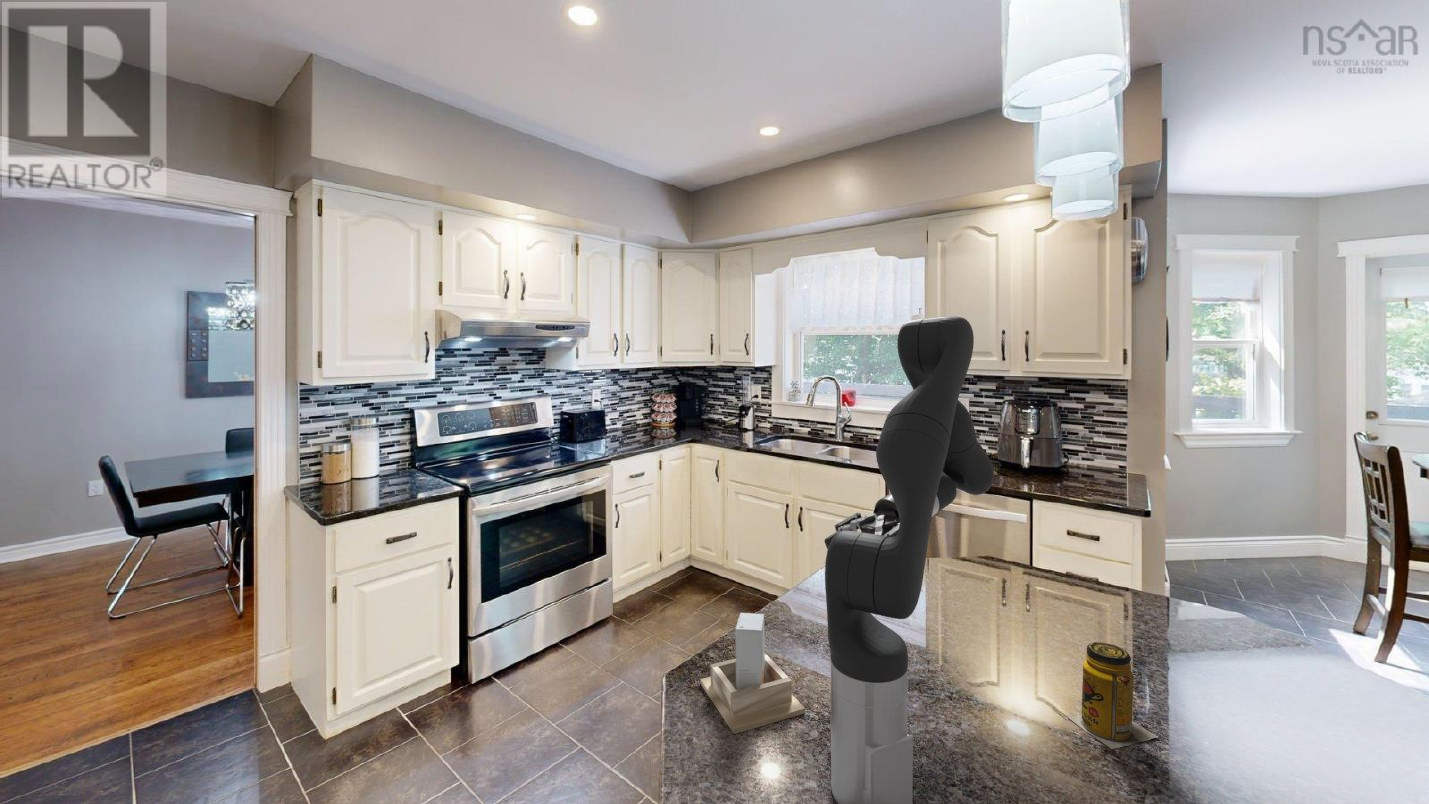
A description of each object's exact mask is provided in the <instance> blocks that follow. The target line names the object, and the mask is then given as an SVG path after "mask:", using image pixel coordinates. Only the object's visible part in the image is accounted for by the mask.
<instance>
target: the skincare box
mask: <svg viewBox="0 0 1429 804" xmlns="http://www.w3.org/2000/svg"><path fill="white" fill-rule="evenodd" d="M734 636H735V638H734V639H735V659H736V691H738V690H742V689H746V688H750V687H753V686H757V685H761V684H765V653H766V652H765V651H766V648H765V645H766V644H765V639H766V638H765V614H762V613H750V612H740V613H739V616H738V619H737V621H736V626H735V635H734Z"/></svg>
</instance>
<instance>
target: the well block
mask: <svg viewBox="0 0 1429 804" xmlns="http://www.w3.org/2000/svg"><path fill="white" fill-rule="evenodd" d="M709 667H710V668H709V669H710V671H709V672H710V674H709V676H708V677H703V678H700V683H699V684H700V685H701V687H702V688H703V690H704V691H705V693H706V694H707V696H708V697H709V699H710V700H711V701H712V703H713V705H714V706H715V708H716V709H717V711H718V712H719V714H720V715H721V717H722V718H723V720H724V721H725V723H726V725H727V726H728V727H729V729H730V730H731V732H732V733H733V734H734V735H736V734H739V733H742V732H746V731H749V730H753V729H755V728H760V727H763V726H765V725H770V724H773V723H777V722H781V721H783V720H787V719H790V718H793V717H797V716H800V715H804V714H805V713H806V711H805V710H806V708H805V707H804V706H803V705H802V704H801V703H800V701H799V700H798V699H797V698H796V697H795V696H794V695H793V694H792V693H793V692H792V689H793V688H792V686H793V683H792V681H793V680H792V679H791V678H790V677H789V676H788V675H787V674H786V673H785V672H784V671H783V670H782V669H781V667H779V666H778V665H777V664H776V663H775V662H774V660H773V659H772V658H770V656H769V655H768V654H767V653H766V652H765V684H761V685H757V686H753V687H750V688H746V689H742V690H738V691H736V658H732V659H728V660H727V659H726V660H723V661H720V662H716V663H712V664H710V665H709Z"/></svg>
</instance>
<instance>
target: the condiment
mask: <svg viewBox="0 0 1429 804" xmlns="http://www.w3.org/2000/svg"><path fill="white" fill-rule="evenodd" d="M1131 662H1132V657H1131V656H1130V654H1129V652H1128V651H1127V650H1125V649H1124V648H1122V647H1120V646H1118V645H1115V644H1112V643H1107V642H1102V641H1094V642H1091V643H1088V645H1087V646H1086V656H1085V661H1083V665H1082V687H1081V698H1082V699H1081V714H1077V715H1073V716H1067V719H1069V720H1070V721H1072V722H1073V723H1074V724H1076V725H1077V726H1078V727H1080V728H1081V729H1083V731H1085V732H1086V733H1088V734H1089V735H1091V736H1092V737H1093V738H1095V739H1096V740H1098V741H1099V742H1102V744H1103V745H1106V746H1107V747H1108V748H1109V749H1110V750H1112V749H1113V750H1114V749H1119V748H1122V747H1129V746H1130V745H1135V744H1138V743H1140V742H1146V741H1150V740H1152V739H1155V738H1156V739H1157V738H1159V736H1158V735H1156V734H1155V733H1153V732H1151V731H1149V730H1147V729H1146V728H1144V727H1143V726H1140V725H1139V724H1138V723H1136V722H1134V721H1133V706H1134V703H1133V702H1134V678H1135V677H1134V674H1133V672H1132V665H1131V664H1132V663H1131Z"/></svg>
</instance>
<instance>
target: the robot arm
mask: <svg viewBox="0 0 1429 804" xmlns="http://www.w3.org/2000/svg"><path fill="white" fill-rule="evenodd" d="M974 338H975V336H974V330H973V328H972V324H970V322H969V321H968V319H966V318H964V317H962V316H940V317H930V318H929V317H928V318H920V319H914V320H913V319H912V320H908V321H906V322H904V323H903V324H902V325H901V327H900V329H899V331H898V335H897V346H896V347H897V354H898V359H899V362H900V365H901V367H902V370H903V372H904V374H905V376H906V378H907V380H908V382H909V384H910V386H911V388H912V390H911V391H910V392H909V393H907V395H905V396H904V397H903V398H902V399H900V400H899V401H898V403H896V405H894V406H893V407H892V408H891V410H890V411H889V413H888V414H887V416H886V418H885V420H884V423H883V426H882V428H881V429H882V430H881V431H880V432H881V433H880V435H879V440H878V442H877V445H876V450H875V451H876V452H875V456H876V462H877V467H878V469H879V472H880V474H881V476H882V480H883V481H884V483H885V485H886V487H887V489H888V490H889V494H887V495H885V496H884V497H881V498H880V499H878V500H877V502H876V503H875V505H874V510H873V513H869V514H866V515H864V517H863V516H862V514H861V512H855V513H854V514H852V515H850V516H848V517H847V518H844V519H843V520H842V521H840V522H838V523H836V524H835V525H834V529H835V531H836V532H834V533H832V534H830V535H829V536H827V537H825V539H824V544H825V547H826V549H827V552H826V557H825V565H824V585H825V586H824V587H825V588H824V590H825V601H826V618H827V620H826V622H827V637H828V638H827V640H828V646H829V648H830V764H831V765H830V768H831V769H830V777H831V778H830V781H831V782H830V783H831V784H830V785H831V787H830V788H831V792H832V793H831V794H832V796H833V798H834V801H835V802H836V803H837V804H913V802H914V801H913V798H914V797H913V788H914V787H913V784H914V783H913V782H914V781H913V780H914V779H913V777H914V773H913V771H914V770H913V767H914V763H913V762H914V739H913V737H912V735H911V734H910V733H909V732H908V689H909V688H908V683H909V682H908V680H909V679H908V676H909V675H908V674H909V673H908V670H909V669H908V668H909V654H908V653H909V651H908V646H907V645H906V644H907V643H905V641H904V639H903V638H902V637H901V635H899V634H898V633H897V632H895V631H894V630H893V629H891V628H890V627H888V626H887V625H885V624H884V623H882V622H881V621H880V620H878V619H877V618H876V617H875V616H874V615H877V616H881V617H886V618H891V619H896V620H905V619H908V618H909V617H911V616H912V615H913V613H914V611H915V609H916V608H917V604H918V602H919V599H920V596H921V591H922V586H923V579H924V574H925V566H926V562H927V561H926V560H927V552H928V546H929V539H930V532H931V527H932V526H931V525H932V519H933V517H934V516H935V515H936V514H937V513H939V512H940V511H942V510H943V509H945V508H946V507H948V506H949V505H951V504H952V503H953V502H954V500H955V499H956V497H957V493H958V492H957V489H958V490H959V491H963V492H964V493H967V494H969V495H973V496H981V495H983V494H985V493H986V492H988V491H989V490H990V488H991V487H992V485H993V484H994V479H995V470H994V466H993V463H992V461H991V459H990V457H989V456H988V454H987V453H986V451H985V450H984V448H983V446H982V444H980V442H979V441H978V440H977V439H978V438H977V435H976V430H975V425H974V421H973V418H972V416H971V414H970V412H969V410H968V408H967V407H966V406H965V405H964V404H963V403H962V402H961V401H960V400H959V396H960V394H961V391H962V388H963V385H964V382H965V379H966V377H967V374H968V371H969V368H970V364H971V361H972V358H973V352H974ZM859 530H860V531H859ZM873 614H874V615H873Z"/></svg>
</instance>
